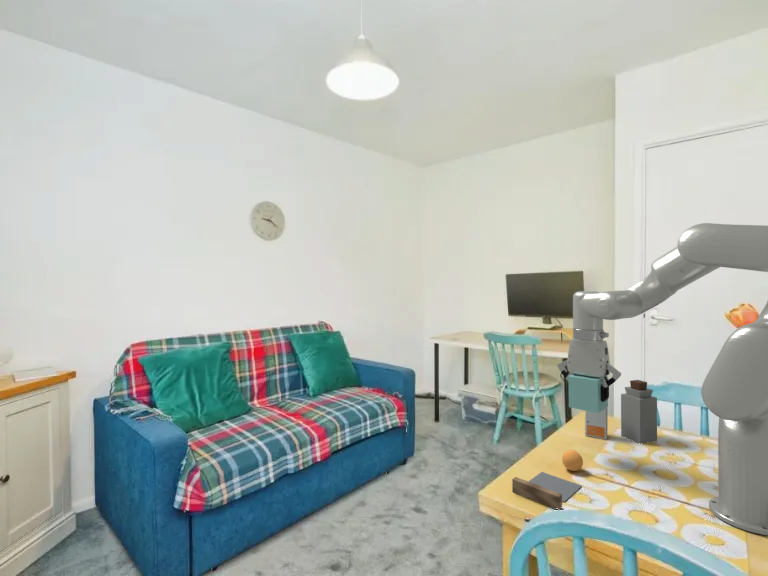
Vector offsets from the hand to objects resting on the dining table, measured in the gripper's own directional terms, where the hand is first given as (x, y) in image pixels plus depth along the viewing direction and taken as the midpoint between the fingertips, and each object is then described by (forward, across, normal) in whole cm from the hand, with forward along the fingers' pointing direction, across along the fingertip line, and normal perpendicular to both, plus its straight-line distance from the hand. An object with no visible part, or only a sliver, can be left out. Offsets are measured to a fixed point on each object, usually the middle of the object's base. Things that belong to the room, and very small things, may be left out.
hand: (587, 397), depth 112 cm
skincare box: (+17, +4, -18) cm, 25 cm away
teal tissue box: (+3, 0, 0) cm, 3 cm away
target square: (+17, 0, +23) cm, 29 cm away
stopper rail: (+17, 0, +31) cm, 36 cm away
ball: (+15, 0, +11) cm, 18 cm away
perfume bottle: (+17, -6, -25) cm, 31 cm away
